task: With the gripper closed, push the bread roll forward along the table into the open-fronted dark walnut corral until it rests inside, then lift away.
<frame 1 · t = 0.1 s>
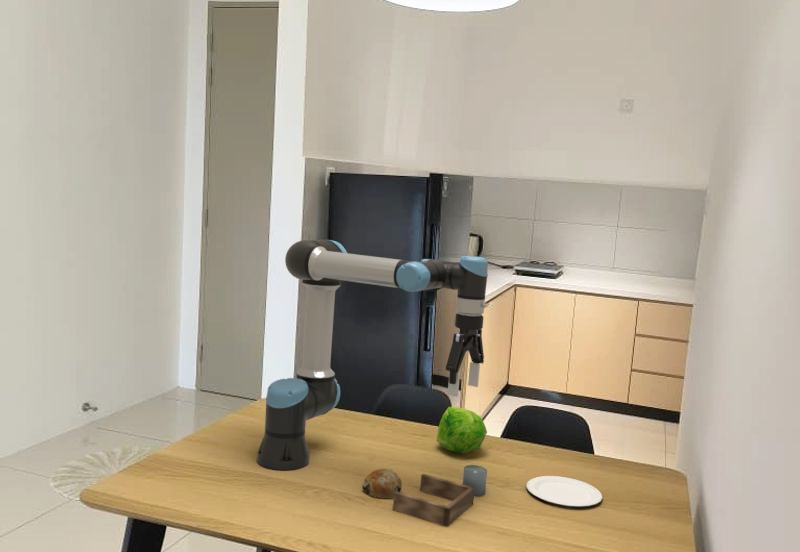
hand: (463, 390, 195), 28 cm above the table, fingers open, 13 cm apart
plate: (563, 496, 200), on the table
lettuce: (459, 450, 231), on the table
bread roll: (381, 493, 193), on the table
grey-blue cylinder: (473, 492, 197), on the table
corral: (431, 506, 185), on the table
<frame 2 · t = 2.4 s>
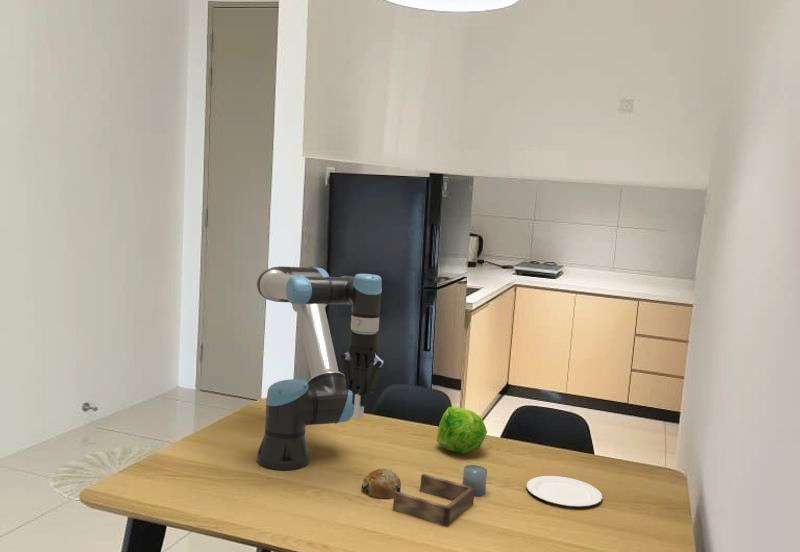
hand: (358, 417, 195), 19 cm above the table, fingers closed
nothing on the table moved.
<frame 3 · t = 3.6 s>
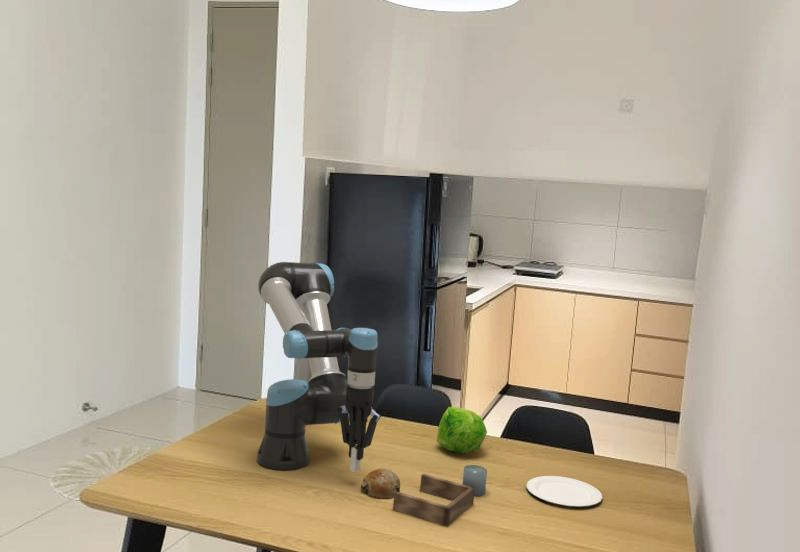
hand: (355, 470, 196), 4 cm above the table, fingers closed
nothing on the table moved.
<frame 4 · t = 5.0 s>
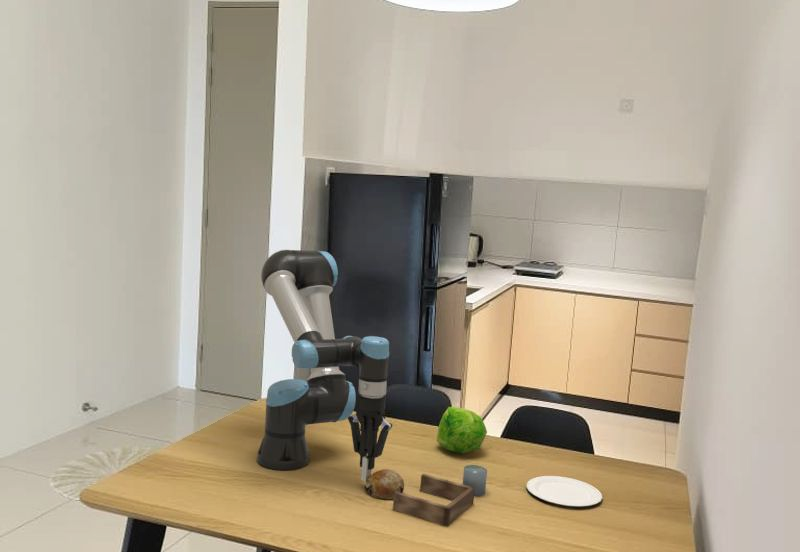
hand: (366, 479, 194), 2 cm above the table, fingers closed
bread roll: (384, 493, 192), on the table, touching gripper
everything else where it was.
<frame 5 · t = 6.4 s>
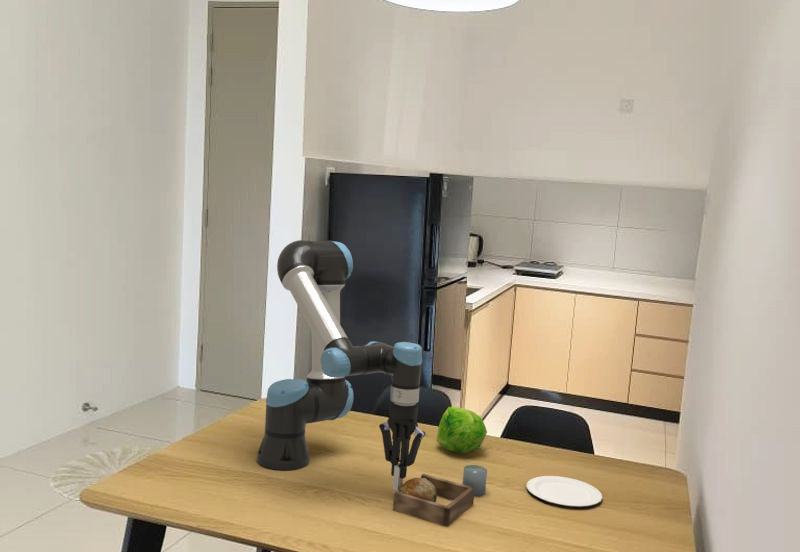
hand: (397, 488, 190), 2 cm above the table, fingers closed
bread roll: (416, 502, 188), on the table
everything else where it was.
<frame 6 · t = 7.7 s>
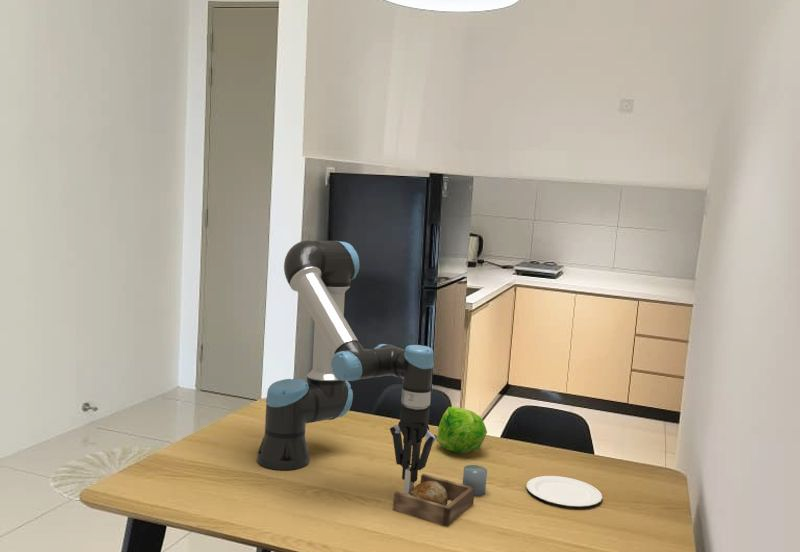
hand: (408, 492, 189), 2 cm above the table, fingers closed
bread roll: (427, 506, 186), on the table, touching gripper
everything else where it was.
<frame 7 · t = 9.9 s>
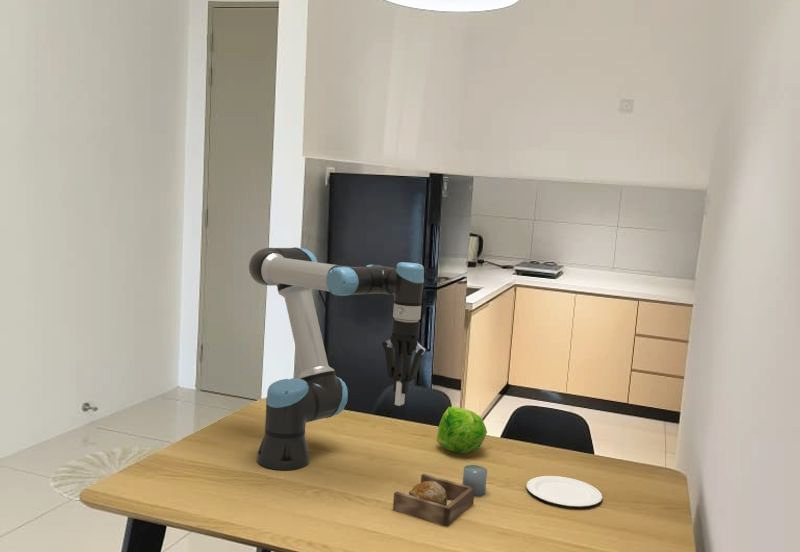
hand: (399, 404, 197), 23 cm above the table, fingers closed
bread roll: (426, 506, 186), on the table
everything else where it was.
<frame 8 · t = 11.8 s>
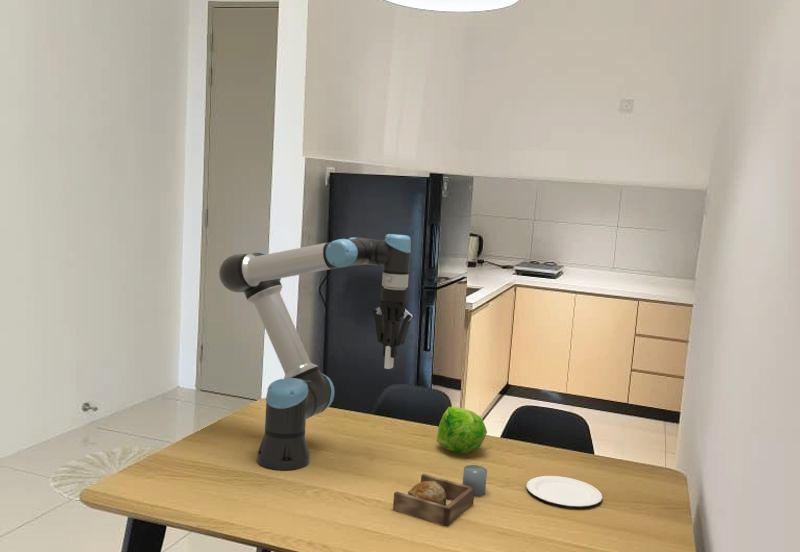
hand: (388, 367, 209), 29 cm above the table, fingers closed
nothing on the table moved.
at the end: bread roll inside the target area on the corral (1.9 cm from its centre), point 0.0 cm above the corral's base; bread roll moved 13.4 cm from its start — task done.
